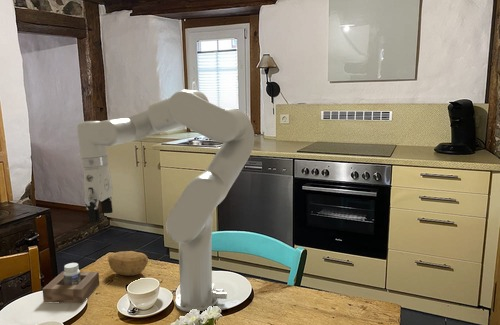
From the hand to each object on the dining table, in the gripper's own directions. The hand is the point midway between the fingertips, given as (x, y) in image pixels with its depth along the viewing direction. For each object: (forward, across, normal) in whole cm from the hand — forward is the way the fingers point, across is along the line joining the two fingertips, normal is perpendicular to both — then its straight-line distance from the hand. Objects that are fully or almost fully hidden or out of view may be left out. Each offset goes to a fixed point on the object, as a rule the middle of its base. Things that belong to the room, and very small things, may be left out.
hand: (101, 217), depth 122 cm
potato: (+25, +13, -2) cm, 28 cm away
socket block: (+24, -1, +12) cm, 27 cm away
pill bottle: (+23, -1, +11) cm, 26 cm away
